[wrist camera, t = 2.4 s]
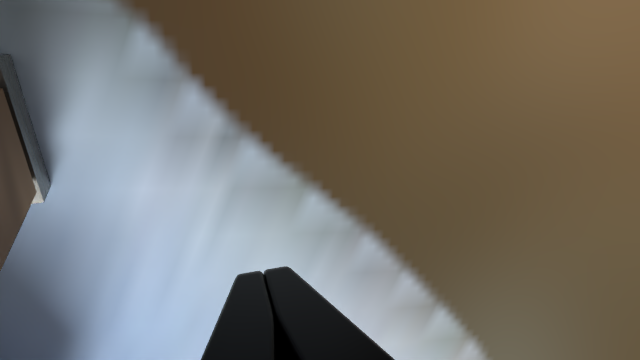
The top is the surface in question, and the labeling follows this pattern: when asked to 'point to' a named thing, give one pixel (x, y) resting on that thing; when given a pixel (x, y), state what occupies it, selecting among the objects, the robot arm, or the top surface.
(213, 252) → the top surface
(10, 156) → the wooden block
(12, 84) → the rail
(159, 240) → the top surface
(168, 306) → the top surface
